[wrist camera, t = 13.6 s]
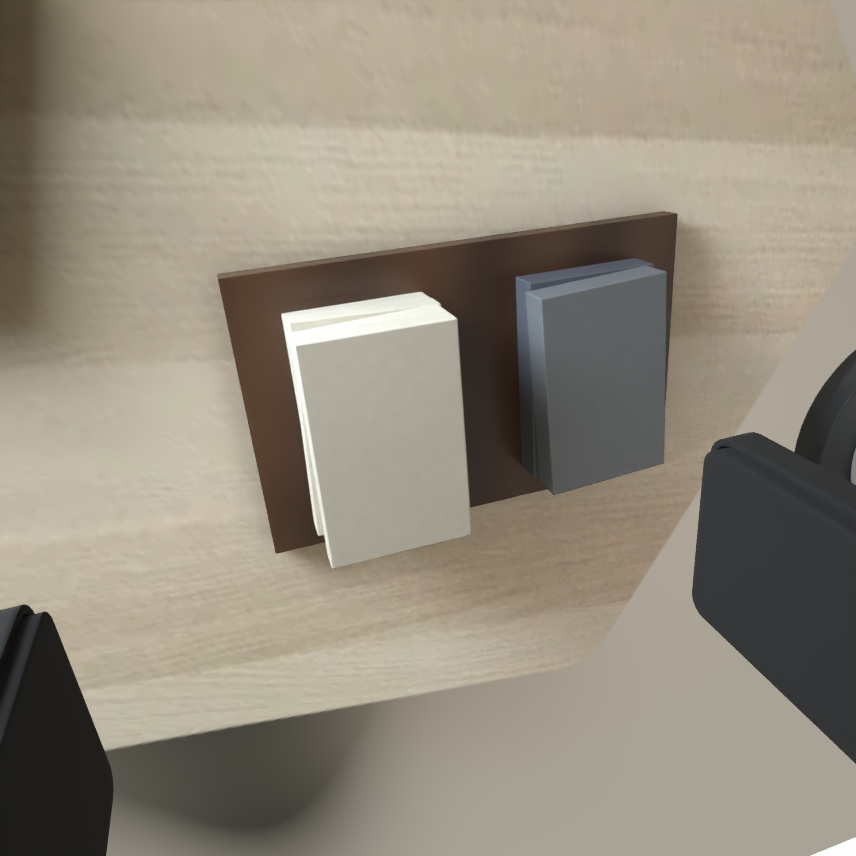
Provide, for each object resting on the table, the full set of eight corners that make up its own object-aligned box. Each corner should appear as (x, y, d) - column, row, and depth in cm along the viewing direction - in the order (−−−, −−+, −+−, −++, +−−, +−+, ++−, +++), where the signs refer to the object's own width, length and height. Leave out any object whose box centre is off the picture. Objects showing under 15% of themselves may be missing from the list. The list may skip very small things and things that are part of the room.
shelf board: (664, 211, 38) (677, 213, 37) (650, 454, 44) (662, 462, 43) (217, 274, 32) (217, 278, 31) (273, 542, 39) (275, 554, 38)
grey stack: (636, 257, 37) (677, 269, 34) (628, 443, 42) (664, 468, 39) (509, 277, 36) (540, 291, 32) (516, 469, 40) (544, 497, 37)
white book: (447, 310, 31) (458, 317, 29) (462, 521, 35) (472, 535, 34) (289, 336, 29) (293, 345, 28) (327, 554, 34) (332, 570, 32)
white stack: (427, 285, 34) (455, 304, 31) (444, 486, 39) (470, 523, 35) (274, 309, 33) (283, 332, 29) (311, 516, 37) (324, 558, 34)
